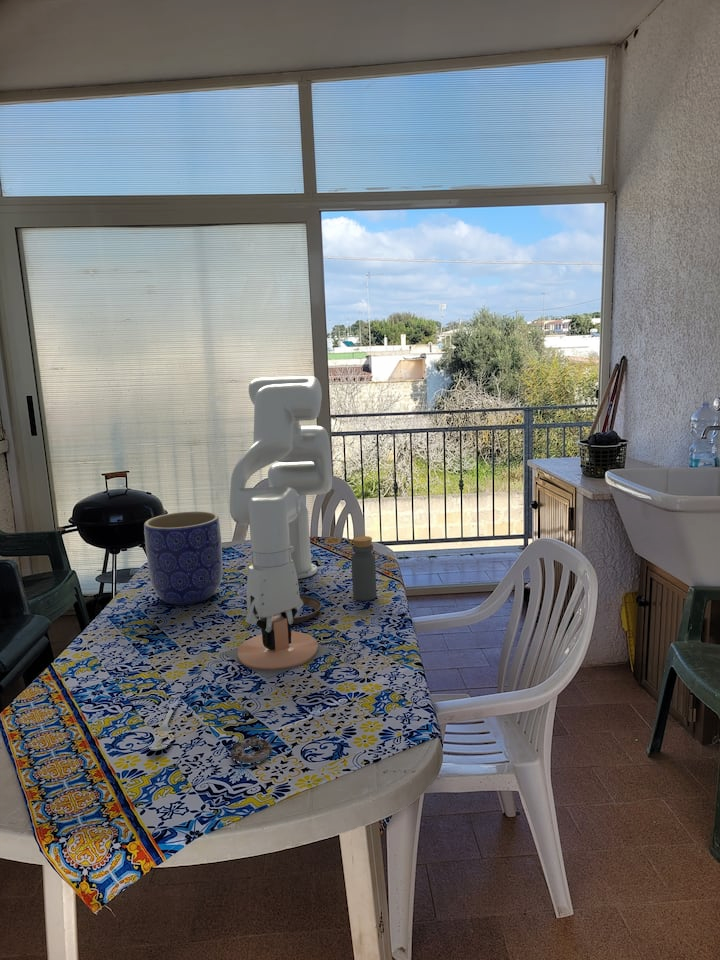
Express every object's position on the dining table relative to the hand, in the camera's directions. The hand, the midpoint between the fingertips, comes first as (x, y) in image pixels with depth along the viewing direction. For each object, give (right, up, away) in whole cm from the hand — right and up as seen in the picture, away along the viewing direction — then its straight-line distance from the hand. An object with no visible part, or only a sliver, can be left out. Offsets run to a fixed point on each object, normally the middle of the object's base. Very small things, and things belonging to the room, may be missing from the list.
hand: (277, 644), depth 132 cm
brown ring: (0, +1, +21) cm, 21 cm away
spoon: (-15, -8, -22) cm, 28 cm away
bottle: (+18, +4, +31) cm, 36 cm away
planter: (-27, +3, +36) cm, 45 cm away
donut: (0, -9, -33) cm, 34 cm away
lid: (0, -2, 0) cm, 2 cm away
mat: (0, -2, 0) cm, 2 cm away
